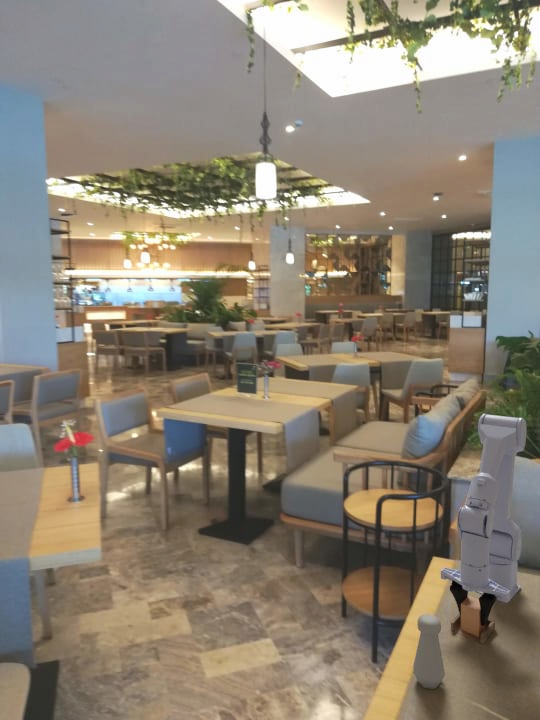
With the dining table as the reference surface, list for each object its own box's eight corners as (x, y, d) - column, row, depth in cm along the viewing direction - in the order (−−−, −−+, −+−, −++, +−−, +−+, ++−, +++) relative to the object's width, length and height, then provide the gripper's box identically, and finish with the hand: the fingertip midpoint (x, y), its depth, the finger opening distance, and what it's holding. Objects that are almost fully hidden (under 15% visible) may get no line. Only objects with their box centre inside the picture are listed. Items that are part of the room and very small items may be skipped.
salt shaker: (446, 694, 98) (447, 629, 97) (414, 690, 100) (414, 626, 98) (442, 672, 104) (443, 610, 102) (412, 669, 105) (412, 608, 104)
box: (463, 617, 121) (463, 608, 121) (494, 630, 116) (494, 621, 116) (450, 631, 116) (450, 622, 116) (482, 645, 112) (482, 635, 111)
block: (468, 620, 119) (468, 595, 118) (486, 628, 116) (486, 602, 116) (460, 629, 116) (461, 603, 116) (478, 637, 114) (479, 610, 113)
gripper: (434, 556, 117) (433, 614, 118) (502, 580, 107) (500, 642, 108) (449, 545, 122) (448, 600, 123) (514, 566, 112) (512, 626, 113)
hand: (473, 619), depth 116 cm, fingers closed on block, 4 cm apart
